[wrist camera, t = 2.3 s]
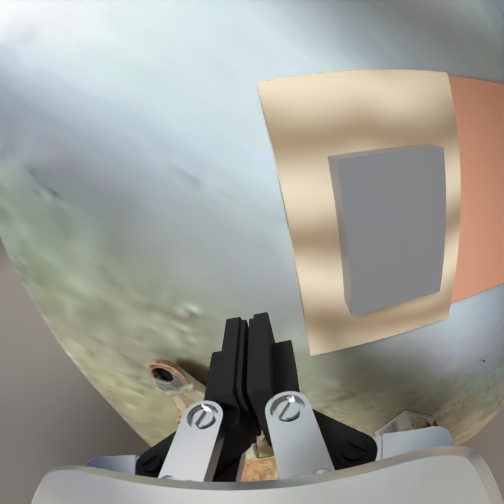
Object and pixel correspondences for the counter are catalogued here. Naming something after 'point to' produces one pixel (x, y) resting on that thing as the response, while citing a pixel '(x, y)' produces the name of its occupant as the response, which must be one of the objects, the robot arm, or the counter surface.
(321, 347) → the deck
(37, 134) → the counter surface
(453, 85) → the mat
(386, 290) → the tile
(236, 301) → the counter surface
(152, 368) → the oil lamp
